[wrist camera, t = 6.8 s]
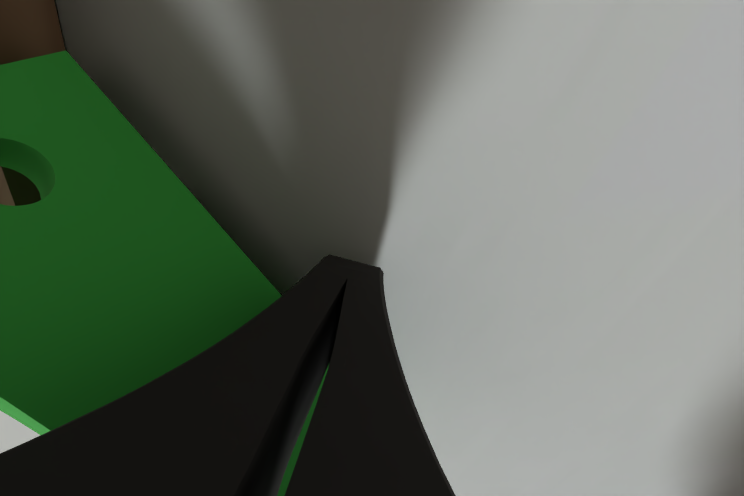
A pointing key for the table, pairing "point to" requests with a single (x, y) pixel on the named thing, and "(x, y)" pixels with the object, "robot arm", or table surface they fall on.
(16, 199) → the walnut bay
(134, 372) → the pipe clamp
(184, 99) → the table surface
